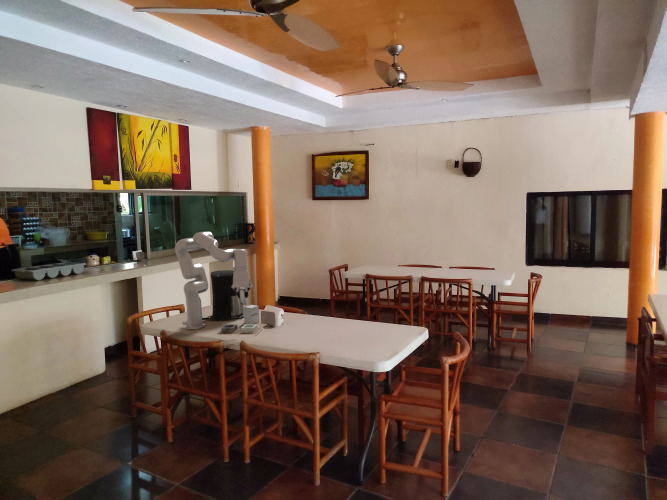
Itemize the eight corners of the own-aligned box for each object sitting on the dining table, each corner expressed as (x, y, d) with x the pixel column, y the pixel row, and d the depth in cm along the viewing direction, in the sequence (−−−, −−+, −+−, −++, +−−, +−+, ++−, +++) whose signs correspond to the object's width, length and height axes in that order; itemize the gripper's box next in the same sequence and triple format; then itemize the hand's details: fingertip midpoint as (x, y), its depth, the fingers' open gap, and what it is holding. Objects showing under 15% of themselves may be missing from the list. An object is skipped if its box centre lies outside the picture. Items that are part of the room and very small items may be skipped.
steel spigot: (239, 305, 294) (238, 289, 292) (241, 303, 297) (240, 288, 296) (245, 304, 293) (244, 289, 292) (247, 303, 297) (246, 287, 296)
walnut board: (216, 336, 293) (216, 329, 292) (224, 329, 307) (224, 323, 306) (255, 336, 290) (255, 329, 289) (261, 329, 303) (261, 323, 303)
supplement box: (251, 326, 312) (250, 308, 311) (244, 325, 317) (243, 306, 315) (259, 324, 318) (258, 305, 317) (252, 322, 323) (251, 304, 321)
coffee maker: (251, 316, 340) (248, 270, 336) (210, 325, 319) (206, 276, 315) (235, 311, 357) (232, 267, 353) (195, 319, 336) (192, 273, 332)
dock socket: (241, 332, 294) (240, 327, 293) (245, 329, 301) (244, 324, 301) (253, 332, 293) (253, 327, 292) (257, 329, 300) (257, 324, 300)
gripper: (226, 270, 290) (228, 299, 292) (252, 269, 288) (254, 298, 290) (230, 268, 298) (232, 296, 300) (255, 267, 295) (257, 296, 297)
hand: (243, 297), depth 295 cm, fingers closed on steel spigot, 4 cm apart
